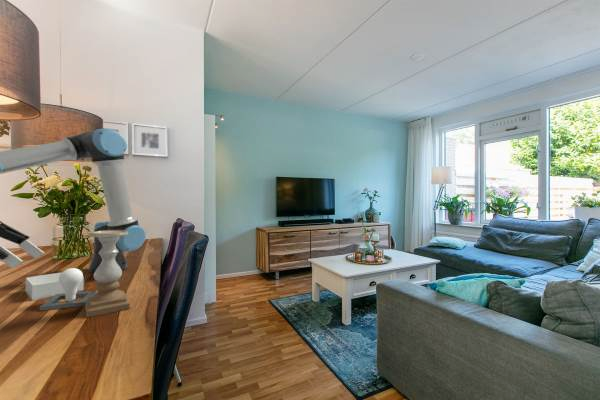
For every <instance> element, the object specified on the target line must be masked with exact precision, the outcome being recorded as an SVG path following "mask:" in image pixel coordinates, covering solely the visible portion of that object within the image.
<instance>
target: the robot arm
mask: <svg viewBox="0 0 600 400" xmlns="http://www.w3.org/2000/svg"><path fill="white" fill-rule="evenodd" d="M127 148H128V143H127V140H126V138H125V137H124V136H123V134H122V133H120V132H119V131H118V130H116V129H113V128H98V129H93V130H88V131H85V132H82V133H80V134H79V133H78V134H76V135H72V136H68V137H62V138H61V140H60V141H53V142H47V143H42V144H35V145H31V146H24V147H19V148H13V149H8V150H1V151H0V175H1V174H6V173H11V172H16V171H20V170H25V169H30V168H34V167H37V166H44V165H46V164H47V165H48V164H52V163H56V162H61V161H66V160H71V161H76V160H83V159H91V163H92V164H93V165H96V166H97V169H98V174H99V178H100V182H101V186H102V190H103V191H102V192H103V194H104V198H105V202H106V207H107V211H108V216H109V221H101V222H96V223H95V224H94V228H93V232H94V231H105V230H125V231H128V234H127V235H124V236H120V237H119V240H118V241H117V242H116V248H117V250H118V251H119V252H118V253H117V255H116V257H115V260H116V262H117V264H118V265H119V266H120V268H121V270H122V271H123V270H127V269H128V262H127V259H126V256H125V253H124V252H134V251H136V250H138V249H139V248H140V247H142V246H143V244H144V243H145V241H146V236H147V235H146V231H145V229H144V228H143V227H142V226H140V225H139V221H138V218H137V217H135V216H134V215H133V212H132V206H131V202H130V197H129V193H128V192H129V191H128V188H127V184H126V179H125V174H124V170H123V165H122V164H123V162H125V160H126V159H125V155H124V154H125V152H126V151H127ZM30 237H31V236H29V235H27V234H25V233H23V232H21V231H18V229H15V228H13V227H12V226H9V225H7V224H6V223H4V222H3V221H1V220H0V238H1V239H4V240H6V241H9V242H11V243H14V244H17V245H18V246H17V247H19V248H20V249H22V250H23V251H24V252H26V253H27V254H28V255H30V256H31V257H32V258H33V259H36V260H37V259H38V258H40V257H41V256H42V255H43V254H45V251H43V250H42V249H40V248H39V247H37V246H36V245H35V244H33V242H31V241H30V240H29V239H30ZM101 249H102V243H101V242H100V241H99V238H98V237H93V255H92V259H91V260H90V263H89V266H88V273H92V274H94V273H95V271H96V270H97V268H98V267H99V265H100V264H101V262H102V257H101V255H100V254H99V251H100V250H101ZM140 249H141V248H140ZM0 261H1V262H2V263H4V264H5V265H7V266H8V267H10V268H11V269H15V268H16V267H18V266H19V265H20V264H21V263H23V262H24V261H23V259H21V258H19V257H18V256H17V255H16V254H15V253H13V252H11V251H10V250H9V249H7V248H6V247H4V245H2V246H0Z"/></svg>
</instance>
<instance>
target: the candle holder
mask: <svg viewBox="0 0 600 400" xmlns="http://www.w3.org/2000/svg"><path fill="white" fill-rule="evenodd" d="M127 234H128V231H125V230H105V231H94V230H93V231H90V232H89V233H88V236H89V237H92V238H94V237H98V238H99V241H100V242H101V243H102V249H101V250H100V251H99V254H100V255H101V257H102V262H101V264H100V265H99V267H98V268H97V270H96V271H95V273H93V278H94V280H95V281H96V282H98V283H97V284H96V286H95V291H97V293H96V294H94V295H91V296H89V297H88V300H86V301H85V306H84V311H85V312H84V314H85V318H93V317H98V316H102V315H107V314H113V313H116V312H123V311H127V310H130V309H131V302H130V300H129V297H128V296H127V294H126V293H125V291H124V290H120V289H118V288H119V287H120V285H121V284H120V282H119V281H118V280H119V279H120V278H121V277H122V275H123V270H121V268H120V266H119V265H118V264H117V262H116V260H115V257H116V255H117V253H118V252H119V251H118V250H117V248H116V242H117V241H118V240H119V237H120V236H124V235H127Z"/></svg>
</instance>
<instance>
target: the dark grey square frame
mask: <svg viewBox="0 0 600 400" xmlns="http://www.w3.org/2000/svg"><path fill="white" fill-rule="evenodd" d="M97 292H98V291H97V290H89V291H88V290H87V291H79V292H77V293H76V299H77V298H78V299H79V298H81V299H80V300H73V301H71V302H68V301H63V302H59V301H60V300H66V299H65V294H56V295H54V296H53V297H49V299H47V301H45V302H44V303H43V304H41V305H39V311H49V310H58V309H59V310H60V309H66V308H67V309H68V308H76V307H78V308H79V307H85V301H86V300H88V297H89V296H91V295H94V294H96V293H97Z"/></svg>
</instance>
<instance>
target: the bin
mask: <svg viewBox="0 0 600 400" xmlns="http://www.w3.org/2000/svg"><path fill="white" fill-rule="evenodd" d="M62 272H63V271H62ZM62 272H56V273H50V274H49V273H48V274H42V275H35V276H34V275H33V276H28V277H25V293H26V294H27V296H28V297H29V299H31V302H32V301H38V300H42V299H46V298H52V297H53V296H54V295H56V294H64V289H63V287H62V285H61V284H60V282H59V276H60V274H61V273H62ZM84 283H85V277H84V276H83V279H82V281H81V282H80V284H79V286H78V288H77V292H84V288H85V287H84V285H85V284H84Z"/></svg>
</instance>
